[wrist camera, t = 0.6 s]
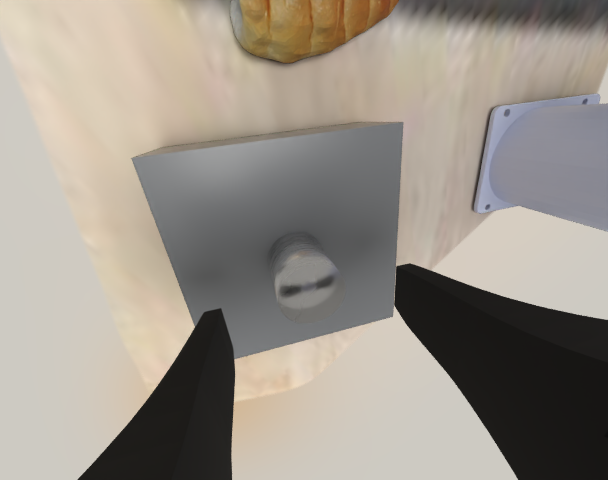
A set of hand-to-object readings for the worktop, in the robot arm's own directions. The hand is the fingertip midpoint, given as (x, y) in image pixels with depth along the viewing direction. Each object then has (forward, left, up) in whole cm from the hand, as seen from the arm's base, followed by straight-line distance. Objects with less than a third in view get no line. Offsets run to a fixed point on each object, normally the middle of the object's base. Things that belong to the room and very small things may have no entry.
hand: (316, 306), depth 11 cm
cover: (0, 0, -9) cm, 9 cm away
